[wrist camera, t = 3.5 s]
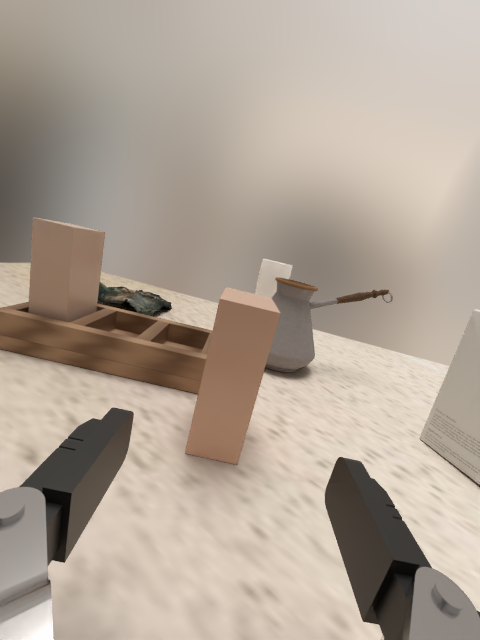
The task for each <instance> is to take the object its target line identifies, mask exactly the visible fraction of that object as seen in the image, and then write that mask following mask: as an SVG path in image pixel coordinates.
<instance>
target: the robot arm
mask: <svg viewBox="0 0 480 640" xmlns="http://www.w3.org/2000/svg"><path fill="white" fill-rule="evenodd" d="M133 415H134V414H133V412H132V411H127V410H123V409H118V408H111V409H110V411H109V412H108V413H107V414H106V415H105V416H104V417H103V419H102V420H98V419H94V418H93V419H91V420H89V421H87V422H85V423H84V424H82V425H80V426H78V427H77V428H76V429H75V430H74V431H73V432H72V433H71V434H70V436H69V437H68V439H66V440H65V441H64V442H63V443H62V444H61V445H60V446H59V448H57V449H56V450H55V451H54V452H53V453H52V454H51V455H50V456H49V457H48V458H47V459H46V460H45V461H44V462H43V463H42V464H41V465H40V466H39V467H38V468H37V469H36V470H35V471H34V472H33V474H32V475H31V476H30V477H29V478H28V479H27V480H26V481H25V482H24V483H23V484H22V485H21V486H20V487H17V488H13V489H9V490H6V491H3V492H1V493H0V640H53V621H52V597H51V584H50V580H48V565H49V564H50V562H51V561H52V560H54V561H59V562H64V563H65V561H66V559H67V558H68V556H69V554H70V553H71V551H72V549H73V547H74V546H75V544H76V542H77V541H78V539H79V537H80V535H81V534H82V532H83V530H84V529H85V527H86V525H87V524H88V522H89V520H90V518H91V517H92V515H93V513H94V512H95V510H96V508H97V506H98V505H99V503H100V501H101V500H102V498H103V496H104V495H105V493H106V491H107V489H108V488H109V486H110V484H111V483H112V481H113V479H114V478H115V476H116V474H117V472H118V471H119V469H120V467H121V466H122V464H123V462H124V459H125V457H126V454H127V451H128V447H129V442H130V435H131V429H132V423H133ZM325 505H326V509H327V512H328V515H329V518H330V521H331V524H332V527H333V530H334V534H335V537H336V540H337V543H338V546H339V549H340V552H341V555H342V558H343V561H344V564H345V567H346V571H347V574H348V577H349V580H350V583H351V586H352V589H353V592H354V595H355V598H356V601H357V605H358V608H359V611H360V614H361V617H362V620H363V622H368V623H374V624H379V625H380V628H381V630H382V633H383V636H382V638H381V640H480V612H478V611H476V609H475V607H474V605H473V604H472V602H471V601H470V599H469V598H468V597H467V595H466V594H465V593H464V592H463V591H462V590H461V589H460V588H459V587H458V586H457V585H456V584H455V583H454V582H453V581H452V580H451V579H449V578H448V577H447V576H445V575H444V574H442V573H441V572H439V571H437V570H435V569H432V567H431V565H430V564H429V562H428V560H427V559H426V557H425V555H424V554H423V552H422V550H421V549H420V547H419V545H418V544H417V542H416V540H415V539H414V537H413V535H412V534H411V532H410V530H409V529H408V527H407V525H406V524H405V522H404V521H402V517H401V515H400V514H399V512H398V510H397V509H395V505H394V504H393V502H392V500H391V499H390V497H389V496H388V494H387V492H386V491H385V490H384V489H383V488H382V487H381V486H380V485H379V484H378V483H377V482H376V481H375V479H372V478H370V476H369V474H368V472H367V471H366V469H365V467H364V465H363V464H362V463H361V462H360V461H357V460H352V459H348V458H343V457H339V458H338V459H337V461H336V464H335V466H334V469H333V471H332V474H331V477H330V479H329V482H328V485H327V487H326V491H325Z"/></svg>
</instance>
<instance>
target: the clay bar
mask: <svg viewBox="0 0 480 640" xmlns="http://www.w3.org/2000/svg"><path fill="white" fill-rule="evenodd" d="M280 314H281V313H280V311H279V310H278V308H277V306H276V305H275V303H274V301H273V300H272V298H269V297H265V296H261V295H257V294H252V293H248V292H244V291H240V290H236V289H232V288H228V287H226V289H225V291H224V292H223V294H222V296H221V298H220V302H219V305H218V310H217V314H216V318H215V323H214V327H213V332H212V336H211V341H210V345H209V349H208V354H207V358H206V363H205V367H204V371H203V376H202V380H201V385H200V389H199V394H198V398H197V402H196V407H195V411H194V416H193V420H192V424H191V429H190V433H189V438H188V442H187V446H186V451H185V454H190V455H194V456H199V457H204V458H208V459H213V460H217V461H222V462H227V463H231V464H236V465H237V464H238V460H239V457H240V453H241V450H242V446H243V443H244V439H245V436H246V432H247V429H248V425H249V422H250V418H251V415H252V411H253V408H254V404H255V401H256V397H257V394H258V390H259V387H260V383H261V380H262V376H263V373H264V369H265V366H266V362H267V359H268V355H269V352H270V348H271V345H272V341H273V338H274V335H275V331H276V328H277V324H278V321H279V317H280Z"/></svg>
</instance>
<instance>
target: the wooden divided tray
mask: <svg viewBox="0 0 480 640" xmlns="http://www.w3.org/2000/svg"><path fill="white" fill-rule="evenodd" d="M28 311H29V302H26V303H22V304H17V305H13V306H8V307H3V308H0V349H3V350H7V351H12V352H16V353H20V354H25V355H29V356H34V357H38V358H42V359H47V360H51V361H56V362H60V363H64V364H69V365H73V366H78V367H82V368H86V369H91V370H95V371H100V372H104V373H108V374H113V375H117V376H122V377H126V378H130V379H135V380H139V381H144V382H148V383H152V384H157V385H161V386H166V387H170V388H174V389H179V390H183V391H188V392H192V393H196V394H199V389H200V385H201V380H202V376H203V371H204V367H205V363H206V358H207V354H208V349H209V345H210V341H211V336H212V332H213V331H212V330H208V329H203V328H199V327H195V326H191V325H187V324H182V323H178V322H174V321H170V320H165V319H161V318H157V317H153V316H149V315H144V314H140V313H136V312H132V311H128V310H123V309H119V308H115V307H111V306H106V305H102V304H98V303H97V310H96V312H95V313H92V314H90V315H87V316H85V317H82V318H79V319H77V320H74V321H72V322H65V321H61V320H56V319H52V318H48V317H43V316H39V315H35V314H31V313H28Z"/></svg>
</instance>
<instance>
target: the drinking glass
mask: <svg viewBox="0 0 480 640" xmlns="http://www.w3.org/2000/svg"><path fill="white" fill-rule="evenodd" d="M291 271H292V265H288V264H284V263H280V262H276V261H272V260H268V259H263V260H262V263H261V267H260V270H259V274H258V279H257V285H256V291H255V294H257V295H261V296H265V297H269V298H272V297H273V295H274V294H275V293H276V291H277V281H276V280H275V278H276V277H279V278H285V279H289V278H290V275H291Z"/></svg>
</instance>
